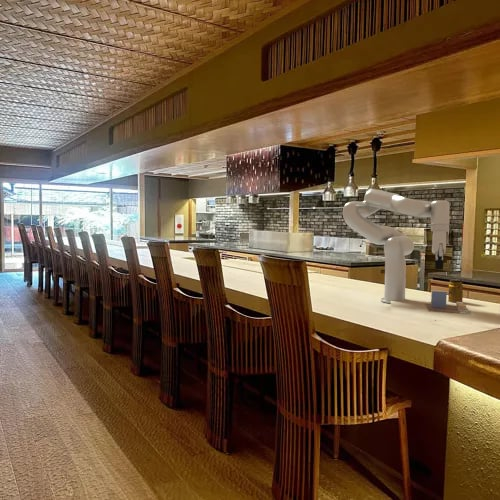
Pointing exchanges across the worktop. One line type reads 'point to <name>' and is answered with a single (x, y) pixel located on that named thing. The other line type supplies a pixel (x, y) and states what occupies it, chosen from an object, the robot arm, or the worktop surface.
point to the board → (443, 309)
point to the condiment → (455, 291)
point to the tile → (438, 299)
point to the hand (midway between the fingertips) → (439, 269)
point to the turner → (462, 308)
